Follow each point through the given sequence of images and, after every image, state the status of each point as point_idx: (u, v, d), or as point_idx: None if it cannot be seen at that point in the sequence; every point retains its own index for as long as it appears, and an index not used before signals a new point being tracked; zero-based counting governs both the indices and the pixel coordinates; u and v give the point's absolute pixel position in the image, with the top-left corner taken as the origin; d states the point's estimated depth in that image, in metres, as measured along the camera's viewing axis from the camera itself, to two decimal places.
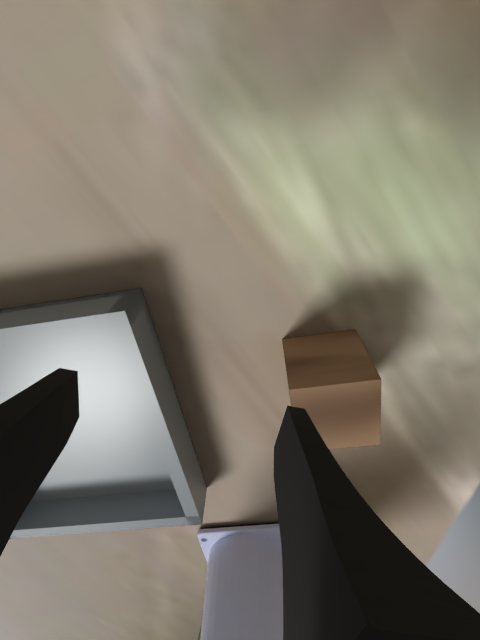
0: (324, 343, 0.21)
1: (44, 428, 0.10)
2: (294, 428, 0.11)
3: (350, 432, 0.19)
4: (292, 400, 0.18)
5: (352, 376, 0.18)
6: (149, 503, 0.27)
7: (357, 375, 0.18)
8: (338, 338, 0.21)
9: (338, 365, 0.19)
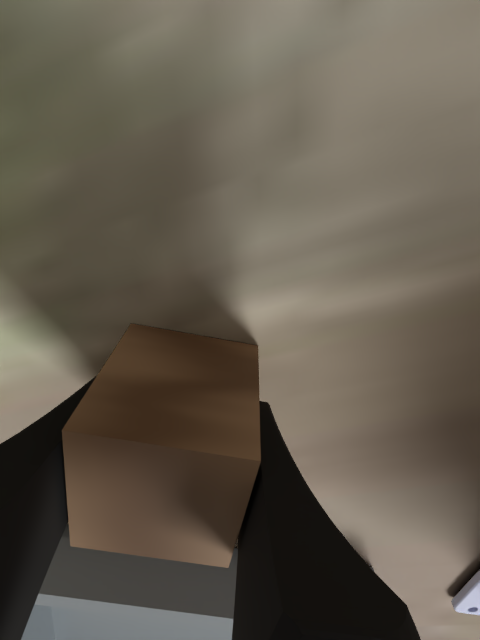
0: None
1: None
2: None
3: (201, 496, 0.09)
4: (95, 548, 0.10)
5: None
6: None
7: None
8: None
9: None
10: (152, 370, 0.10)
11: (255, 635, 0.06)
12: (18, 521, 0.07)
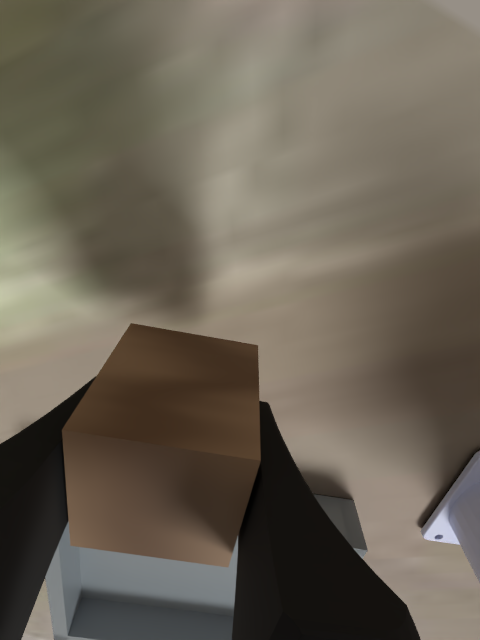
0: None
1: None
2: None
3: (201, 496, 0.09)
4: (95, 547, 0.10)
5: None
6: None
7: None
8: None
9: None
10: (152, 370, 0.10)
11: (255, 635, 0.06)
12: (18, 521, 0.07)
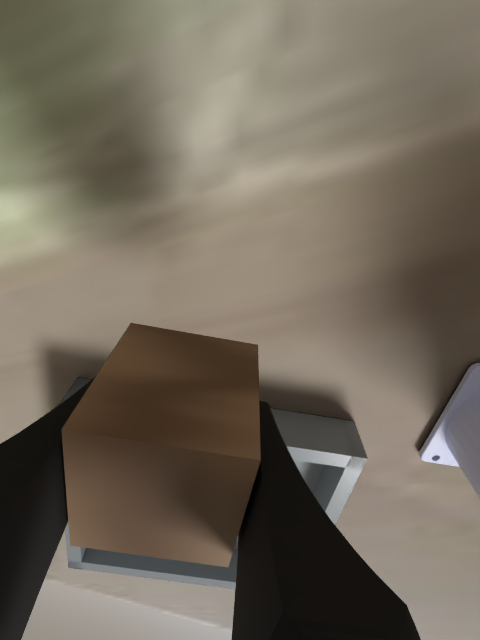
0: None
1: None
2: None
3: (201, 496, 0.09)
4: (95, 547, 0.10)
5: None
6: (326, 482, 0.23)
7: None
8: None
9: None
10: (152, 369, 0.10)
11: (255, 635, 0.06)
12: (18, 521, 0.07)
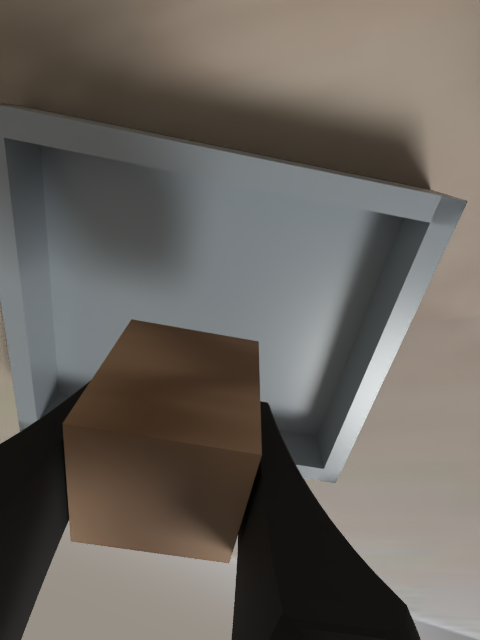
0: None
1: None
2: None
3: (202, 490, 0.09)
4: (96, 543, 0.10)
5: None
6: (387, 285, 0.16)
7: None
8: None
9: None
10: (153, 365, 0.10)
11: (255, 635, 0.06)
12: (18, 521, 0.07)
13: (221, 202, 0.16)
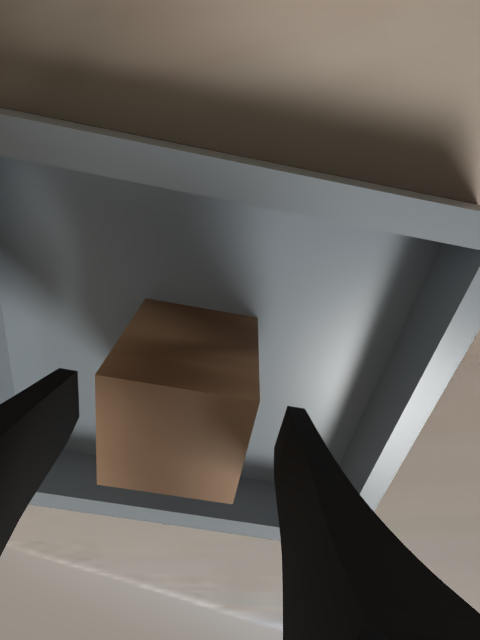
0: None
1: (44, 428, 0.10)
2: (294, 428, 0.11)
3: (210, 435, 0.10)
4: (118, 486, 0.11)
5: None
6: (421, 324, 0.13)
7: None
8: None
9: None
10: (166, 334, 0.12)
11: None
12: None
13: (212, 220, 0.12)
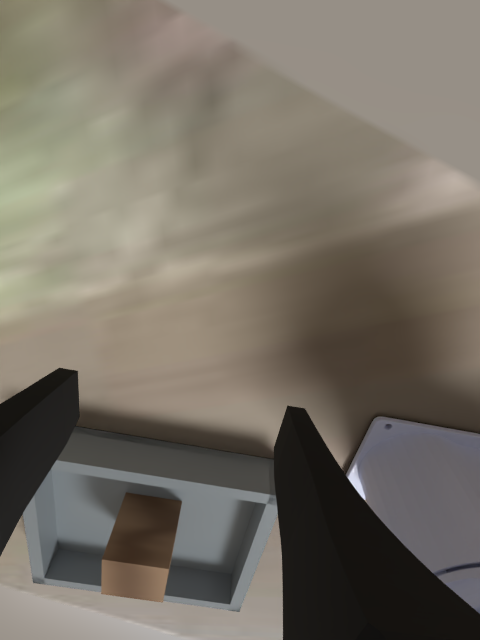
0: None
1: (44, 428, 0.10)
2: (294, 428, 0.11)
3: (149, 578, 0.24)
4: (111, 594, 0.26)
5: None
6: (256, 513, 0.27)
7: None
8: None
9: None
10: (133, 524, 0.26)
11: None
12: None
13: None
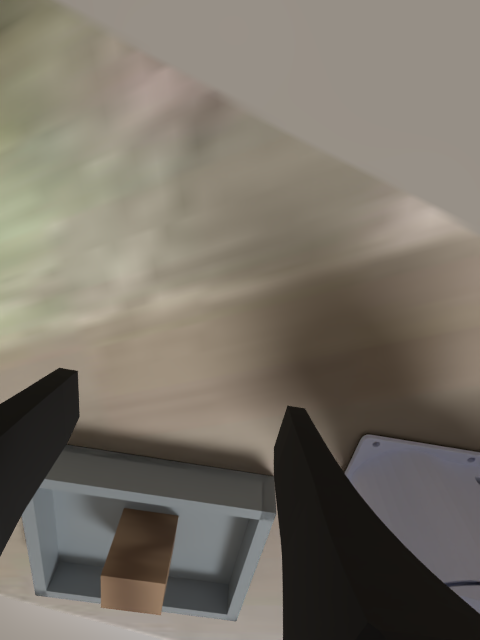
0: None
1: (44, 428, 0.10)
2: (294, 428, 0.11)
3: (147, 593, 0.25)
4: (110, 608, 0.26)
5: None
6: (250, 527, 0.28)
7: None
8: None
9: None
10: (131, 539, 0.27)
11: None
12: None
13: None
